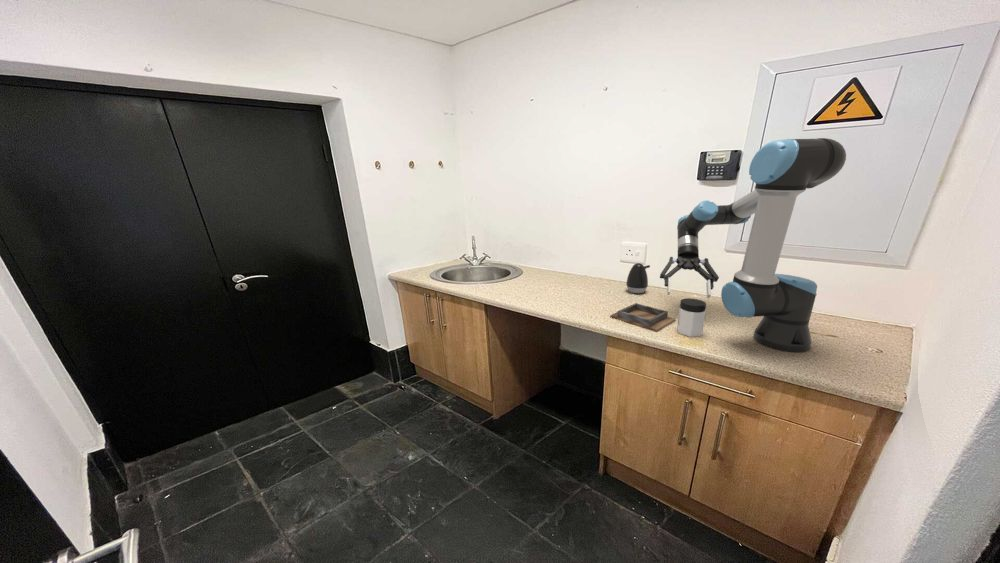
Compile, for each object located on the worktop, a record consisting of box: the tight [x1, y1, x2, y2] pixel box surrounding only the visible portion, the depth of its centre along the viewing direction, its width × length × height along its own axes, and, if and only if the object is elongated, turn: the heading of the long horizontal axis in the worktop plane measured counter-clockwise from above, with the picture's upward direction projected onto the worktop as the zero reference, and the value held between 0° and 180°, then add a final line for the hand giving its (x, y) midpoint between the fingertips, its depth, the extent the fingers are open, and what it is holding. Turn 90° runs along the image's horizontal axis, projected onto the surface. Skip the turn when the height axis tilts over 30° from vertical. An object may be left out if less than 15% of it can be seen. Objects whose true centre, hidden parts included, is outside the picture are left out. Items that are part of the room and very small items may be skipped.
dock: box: [610, 302, 676, 333], centre depth 137 cm, size 20×15×4 cm
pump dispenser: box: [625, 262, 651, 294], centre depth 168 cm, size 10×10×15 cm
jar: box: [676, 297, 707, 338], centre depth 122 cm, size 9×8×12 cm
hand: (688, 295), depth 128 cm, fingers open, 13 cm apart
